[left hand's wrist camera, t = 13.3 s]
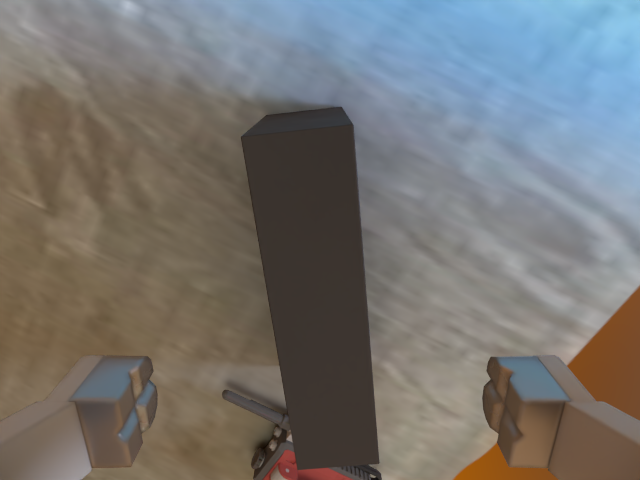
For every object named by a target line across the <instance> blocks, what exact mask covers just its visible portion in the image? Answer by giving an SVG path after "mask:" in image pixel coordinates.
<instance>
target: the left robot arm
mask: <svg viewBox="0 0 640 480" xmlns="http://www.w3.org/2000/svg"><path fill="white" fill-rule="evenodd" d="M152 373H153V366H152V362H151V359H150V358H149V357H148V356H108V355H107V356H104V355H86V356H84V357H81V358H80V359H79V360H78V361H77V363H76V364H75V365H74V366H73V367H72V368H71V370H70V371H69V372H68V373H67V374H66V376H65V377H64V378H63V379H62V380H61V381H60V383H59V384H58V385H57V386H56V387H55V389H54V390H53V391H52V392H51V393H50V394H49V396H48V397H47V398H46V399H45V400H44V402H35V403H33V404H31V405H30V406H28V407H26V408H24V409H22V410H20V411H18V412H16V413H14V414H13V415H11V416H9V417H7V418H5V419H3V420H1V421H0V480H81V479H83V478H84V477H85V476H86V475H87V474H88V473H89V472H91V471H92V468H113V467H131V466H132V464H133V462H134V460H135V458H136V456H137V454H138V452H139V449H140V447H141V445H142V443H143V441H142V435H141V434H142V433H143V432H144V431H146V430H147V429H148V428H150V426H151V424H152V422H153V420H154V418H155V413H156V408H157V389H156V386H155V385H154V384H153V383H152V382H151V381H150V380H149V378H150V377H151V375H152ZM487 373H488V375H489V377H490V378H491V380H490V381H489V382H488V383H487V384H486V385H485V386H484V390H483V397H482V399H483V410H484V414H485V417H486V420H487V422H488V424H489V426H490V428H492V429H493V430H494V431H496V432H497V433H498V434H499V435H498V441H497V443H498V445H499V447H500V449H501V452H502V453H503V456H504V458H505V460H506V462H507V464H508V466H509V467H526V468H548V471H550V472H551V473H552V474H553V475H554V476H555V477H557V478H558V479H559V480H640V421H639V420H637V419H635V418H633V417H631V416H629V415H627V414H626V413H624V412H622V411H620V410H618V409H616V408H614V407H612V406H610V405H609V404H607V403H605V402H596V400H595V399H594V398H593V397H592V396H591V395H590V393H589V392H588V391H587V390H586V389H585V387H584V386H583V385H582V384H581V383H580V382H579V380H578V379H577V378H576V377H575V376H574V374H573V373H572V372H571V371H570V370H569V369H568V367H567V366H566V365H565V364H564V363H563V361H562V360H561V359H560V358H559V357H557V356H555V355H543V356H527V357H491V358H490V360H489V361H488V366H487Z"/></svg>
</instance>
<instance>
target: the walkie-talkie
mask: <svg viewBox="0 0 640 480" xmlns="http://www.w3.org/2000/svg"><path fill="white" fill-rule="evenodd" d="M222 397H223V398H224V399H225V400H227V401H229V402H231V403H234V404H236V405H238V406H240V407H242V408H244V409H246V410H248V411H250V412H253V413H255V414H257V415H259V416H261V417H263V418H265V419H267V420H270V421H272V422H274V423H276V424H278V425H279V427H280V428H279V427H276V428H275V429H274V433H273V434H274V435H275V436H274V437H273V439H272V440H271V441H270V442H269V444H268V445H267V446H266V448H265V449H263V448H258V449H257V451H256V452H255V454H254V456H253V459H252V462H251V466H252V468H253V469H255V471H254V477H253V479H254V480H382V478H381V473H380V472H379V471H378V470H376V469H374V468H372V467H370V466H368V464H367V465H355V466H343V467H331V468H319V469H306V470H297V465H296V459H295V453H294V447H293V441H292V435H291V430H290V424H289V418H288V416H287V415H285V414H283V415H282V414H280V413H278V412H276V411H274V410H272V409H270V408H268V407H266V406H263V405H261V404H259V403H257V402H255V401H253V400H248V399H246V398H244V397H242V396H240V395H238V394H236V393H233V392H231V391H229V390H224V391H223V393H222ZM370 474H372V475H374V476H376V478H371V477H370Z"/></svg>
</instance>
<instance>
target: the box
mask: <svg viewBox="0 0 640 480" xmlns="http://www.w3.org/2000/svg"><path fill="white" fill-rule="evenodd" d="M241 140H242V146H243V152H244V158H245V164H246V170H247V176H248V181H249V187H250V193H251V199H252V205H253V211H254V217H255V223H256V229H257V235H258V241H259V246H260V252H261V258H262V264H263V270H264V276H265V282H266V288H267V294H268V300H269V305H270V311H271V317H272V323H273V329H274V335H275V341H276V347H277V353H278V359H279V365H280V370H281V376H282V382H283V388H284V394H285V400H286V406H287V412H288V418H289V424H290V430H291V435H292V441H293V447H294V453H295V459H296V465H297V470H306V469H319V468H331V467H343V466H355V465H367V464H379V453H378V440H377V427H376V414H375V401H374V388H373V375H372V362H371V349H370V336H369V323H368V310H367V297H366V284H365V271H364V257H363V244H362V231H361V218H360V205H359V192H358V179H357V166H356V153H355V140H354V127H353V124H352V122H351V121H350V119H349V118H348V116H347V115H346V113H345V111H344V110H343V108H342V107H336V108H327V109H318V110H309V111H300V112H291V113H282V114H273V115H266V116H265V117H264V118H263V119H262V120H260V121H259V122H258V123H257V124H256V125H254V126H253V127H252V128H251V129H250V130H249V131H247V132H246V133H245V134H244V135H243V136H241Z"/></svg>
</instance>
